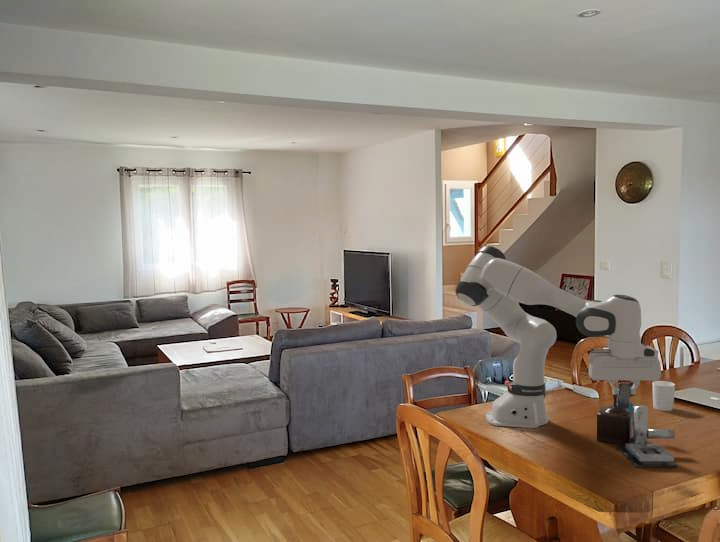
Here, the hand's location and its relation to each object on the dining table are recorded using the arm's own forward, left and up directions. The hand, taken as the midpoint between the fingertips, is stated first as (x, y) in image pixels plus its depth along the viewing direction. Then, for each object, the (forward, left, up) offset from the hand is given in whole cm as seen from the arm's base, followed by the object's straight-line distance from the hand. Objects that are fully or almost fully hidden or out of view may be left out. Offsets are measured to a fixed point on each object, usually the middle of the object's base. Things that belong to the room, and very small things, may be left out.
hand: (623, 394), depth 180 cm
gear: (+17, +40, -22) cm, 48 cm away
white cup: (+35, +53, -21) cm, 67 cm away
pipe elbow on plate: (+10, +4, -21) cm, 24 cm away
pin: (0, 0, -4) cm, 4 cm away
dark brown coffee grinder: (+6, +22, -21) cm, 31 cm away
